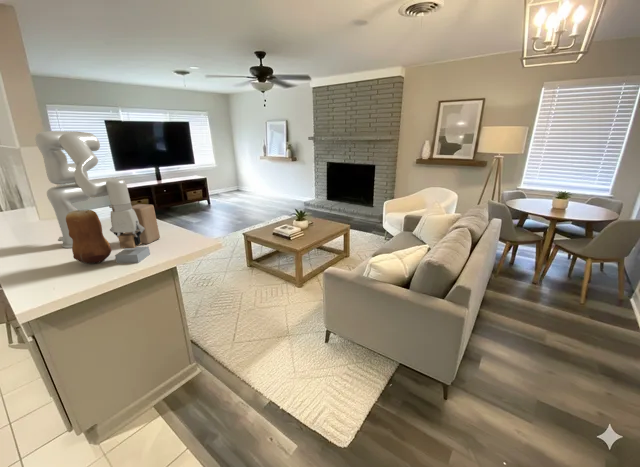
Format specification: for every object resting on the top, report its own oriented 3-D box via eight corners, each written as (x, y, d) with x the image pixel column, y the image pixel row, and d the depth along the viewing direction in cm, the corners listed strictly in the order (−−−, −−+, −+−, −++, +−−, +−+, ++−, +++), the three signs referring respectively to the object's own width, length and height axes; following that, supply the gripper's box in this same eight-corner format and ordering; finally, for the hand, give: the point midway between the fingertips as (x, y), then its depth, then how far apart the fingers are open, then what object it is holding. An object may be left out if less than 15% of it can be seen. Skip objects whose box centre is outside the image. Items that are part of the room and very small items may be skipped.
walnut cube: (121, 248, 132) (117, 236, 131) (128, 243, 138) (126, 232, 136) (134, 248, 133) (131, 235, 131) (141, 243, 138) (138, 231, 136)
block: (147, 244, 155) (139, 208, 148) (132, 243, 156) (123, 208, 150) (161, 238, 164) (154, 204, 157) (146, 237, 166) (138, 203, 159)
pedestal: (116, 263, 133) (114, 255, 131) (130, 254, 142) (128, 247, 141) (138, 262, 133) (136, 254, 132) (150, 254, 142) (148, 246, 141)
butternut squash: (104, 254, 143) (91, 205, 135) (119, 259, 137) (105, 208, 128) (71, 264, 132) (54, 211, 123) (85, 271, 125) (67, 215, 117)
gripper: (96, 209, 126) (107, 248, 131) (136, 208, 126) (145, 247, 132) (108, 205, 133) (117, 242, 139) (145, 205, 133) (153, 241, 139)
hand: (131, 244), depth 135 cm, fingers closed on walnut cube, 6 cm apart
